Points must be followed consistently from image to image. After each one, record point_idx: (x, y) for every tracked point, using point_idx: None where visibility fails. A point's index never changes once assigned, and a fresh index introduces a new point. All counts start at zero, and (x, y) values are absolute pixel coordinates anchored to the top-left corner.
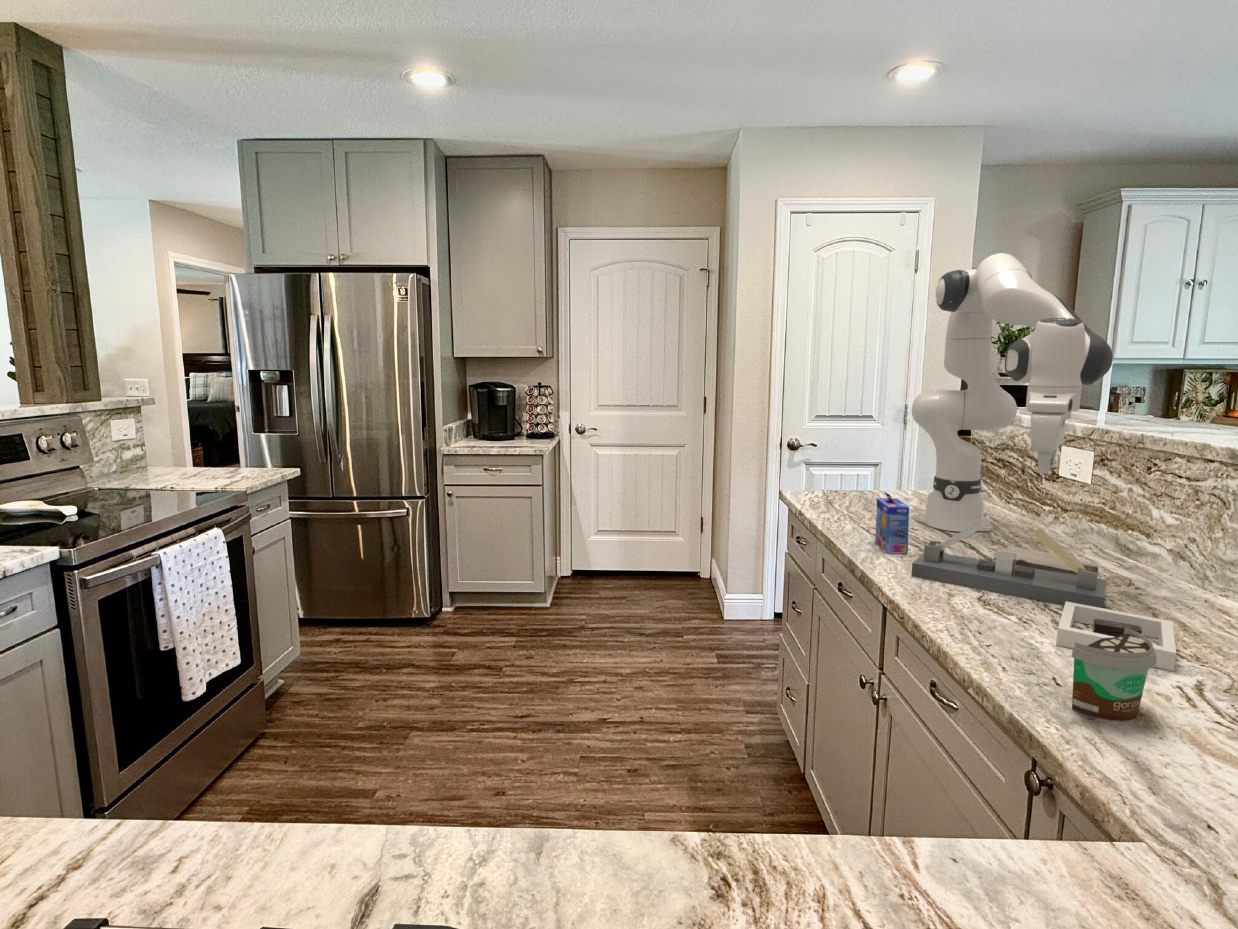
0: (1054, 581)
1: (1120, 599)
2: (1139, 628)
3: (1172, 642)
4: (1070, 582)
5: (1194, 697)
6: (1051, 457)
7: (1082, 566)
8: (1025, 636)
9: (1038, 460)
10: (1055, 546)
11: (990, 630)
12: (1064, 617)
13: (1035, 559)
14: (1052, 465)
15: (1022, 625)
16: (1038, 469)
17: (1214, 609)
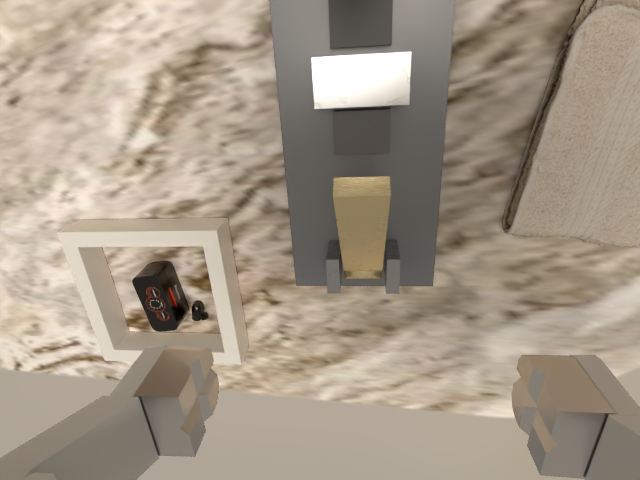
0: None
1: (411, 291)
2: (166, 329)
3: None
4: None
5: (62, 353)
6: (606, 473)
7: (369, 266)
8: (71, 174)
9: (57, 426)
10: (338, 230)
11: (43, 116)
12: (119, 236)
13: (591, 122)
14: (520, 417)
15: (119, 161)
16: (140, 360)
17: (445, 399)
